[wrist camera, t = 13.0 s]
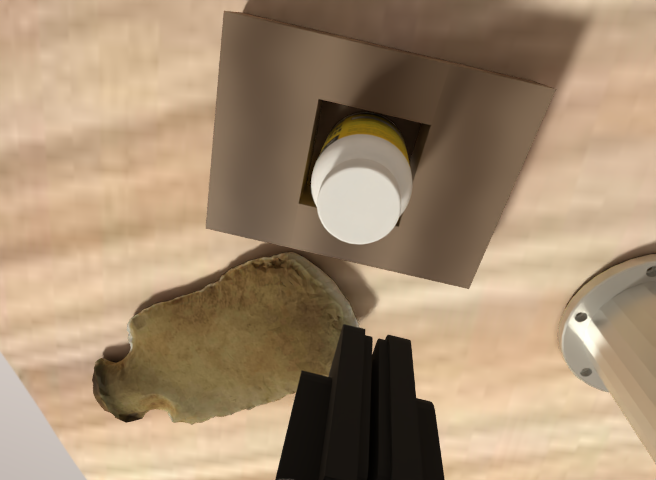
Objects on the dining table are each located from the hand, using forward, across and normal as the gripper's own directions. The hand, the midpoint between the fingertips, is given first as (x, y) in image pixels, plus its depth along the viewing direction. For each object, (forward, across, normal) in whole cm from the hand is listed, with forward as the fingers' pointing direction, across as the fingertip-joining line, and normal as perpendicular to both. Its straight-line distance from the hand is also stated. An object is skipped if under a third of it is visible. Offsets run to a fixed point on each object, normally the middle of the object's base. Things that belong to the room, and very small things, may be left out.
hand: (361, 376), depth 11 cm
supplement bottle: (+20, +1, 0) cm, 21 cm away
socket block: (+20, +1, 0) cm, 20 cm away
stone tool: (+21, +9, +18) cm, 29 cm away
